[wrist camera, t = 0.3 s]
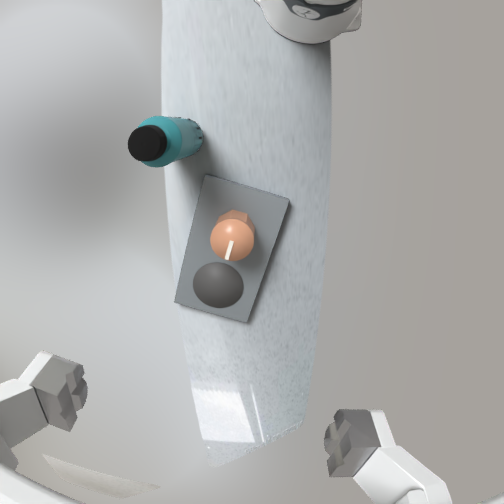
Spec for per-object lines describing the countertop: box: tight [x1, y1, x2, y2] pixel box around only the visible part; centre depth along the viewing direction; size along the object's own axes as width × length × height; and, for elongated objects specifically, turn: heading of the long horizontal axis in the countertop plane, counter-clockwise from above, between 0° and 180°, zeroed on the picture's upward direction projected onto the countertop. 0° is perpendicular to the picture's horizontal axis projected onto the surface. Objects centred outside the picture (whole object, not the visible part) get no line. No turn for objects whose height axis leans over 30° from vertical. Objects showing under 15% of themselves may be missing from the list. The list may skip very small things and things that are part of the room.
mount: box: [174, 174, 289, 323], centre depth 53 cm, size 24×14×6 cm, turn 163°
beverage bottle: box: [128, 116, 203, 167], centre depth 40 cm, size 6×7×20 cm
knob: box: [210, 209, 255, 261], centre depth 50 cm, size 6×6×6 cm
